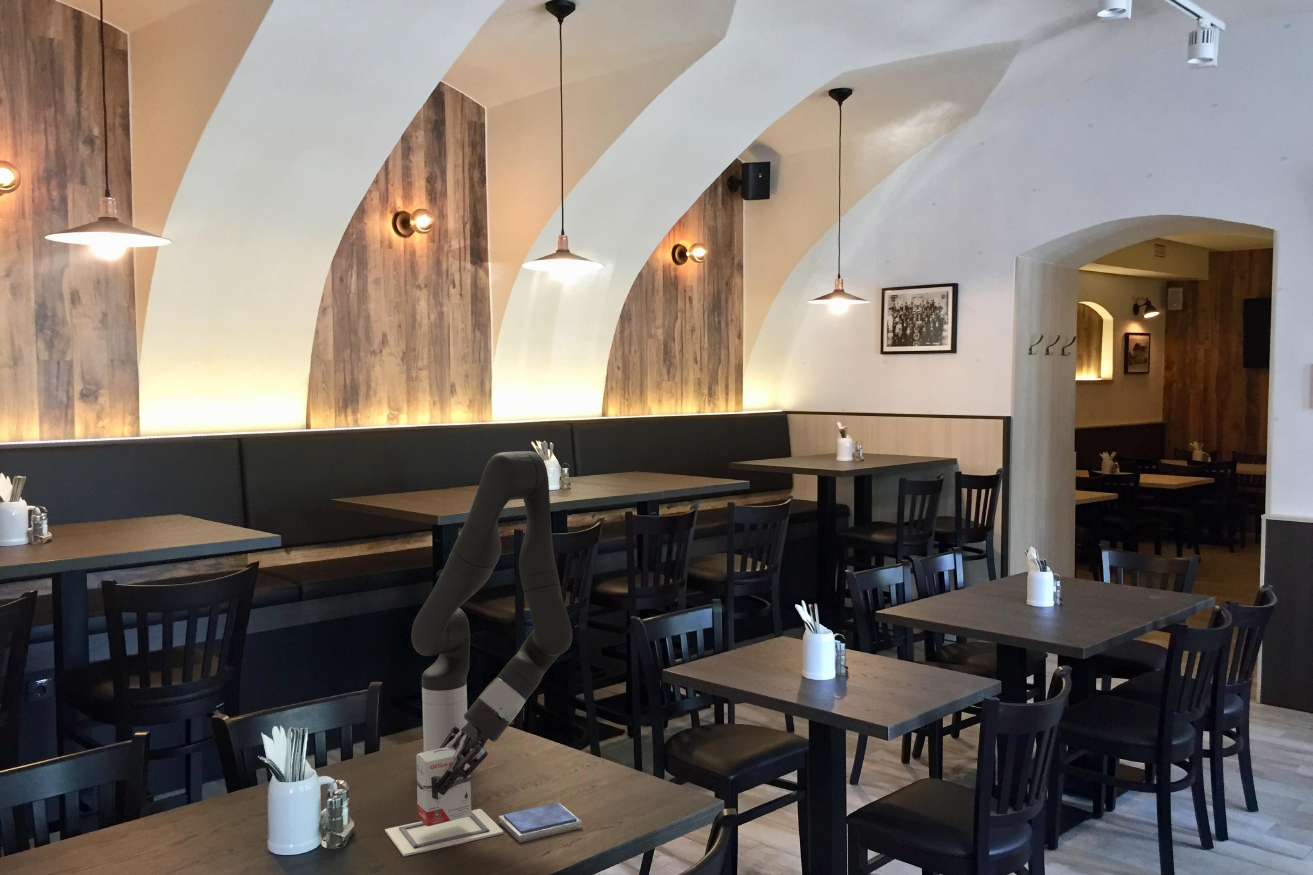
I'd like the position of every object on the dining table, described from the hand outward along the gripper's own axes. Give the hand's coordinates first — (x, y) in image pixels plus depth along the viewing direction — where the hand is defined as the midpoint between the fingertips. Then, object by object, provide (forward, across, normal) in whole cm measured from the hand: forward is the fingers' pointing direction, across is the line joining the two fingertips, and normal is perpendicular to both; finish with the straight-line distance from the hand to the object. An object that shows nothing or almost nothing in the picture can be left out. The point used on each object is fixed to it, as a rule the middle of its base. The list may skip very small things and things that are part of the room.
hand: (433, 786), depth 189 cm
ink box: (+3, 0, +6) cm, 6 cm away
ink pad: (-6, +6, +19) cm, 21 cm away
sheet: (+5, 0, +7) cm, 9 cm away
